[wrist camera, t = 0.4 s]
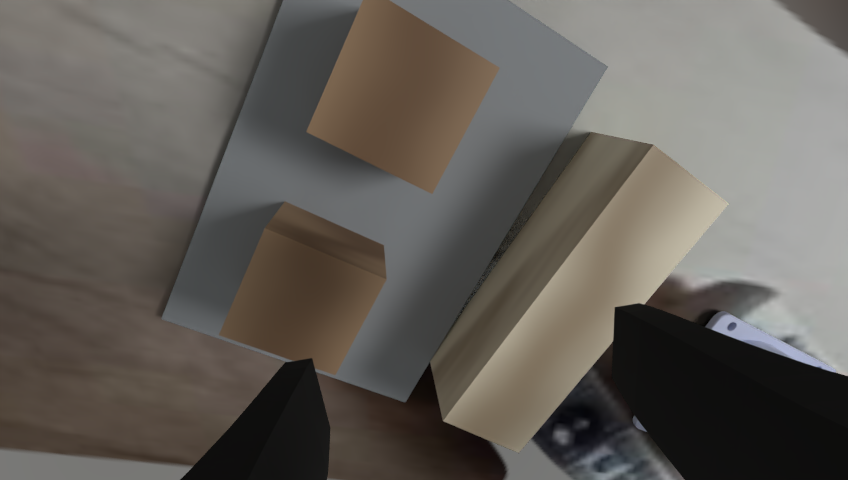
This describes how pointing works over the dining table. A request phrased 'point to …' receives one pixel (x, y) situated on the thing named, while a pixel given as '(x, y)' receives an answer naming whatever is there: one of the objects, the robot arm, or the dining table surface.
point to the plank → (568, 286)
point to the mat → (386, 178)
